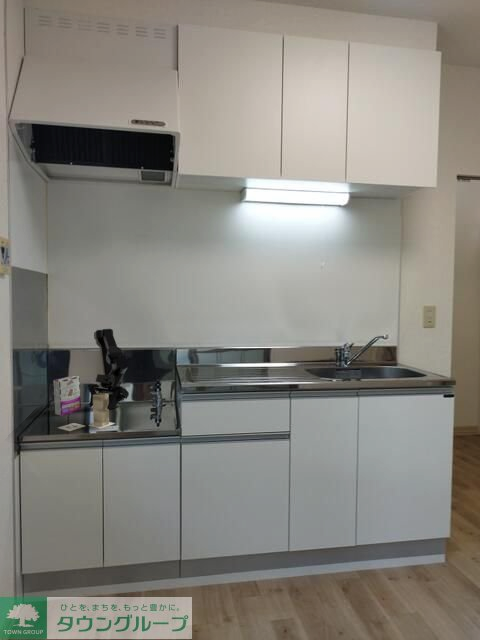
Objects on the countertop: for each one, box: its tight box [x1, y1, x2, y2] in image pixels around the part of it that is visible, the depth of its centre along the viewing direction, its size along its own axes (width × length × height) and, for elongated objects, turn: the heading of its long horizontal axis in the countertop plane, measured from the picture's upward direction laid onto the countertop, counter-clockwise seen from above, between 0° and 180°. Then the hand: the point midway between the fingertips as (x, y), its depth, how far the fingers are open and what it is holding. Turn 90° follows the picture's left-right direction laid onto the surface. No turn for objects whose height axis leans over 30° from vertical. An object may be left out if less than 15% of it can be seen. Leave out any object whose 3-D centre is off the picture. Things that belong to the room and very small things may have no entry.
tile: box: [57, 422, 85, 432], centre depth 190 cm, size 8×8×1 cm
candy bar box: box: [53, 375, 82, 417], centre depth 211 cm, size 11×5×16 cm, turn 148°
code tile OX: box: [88, 421, 116, 430], centre depth 194 cm, size 8×8×1 cm
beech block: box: [92, 393, 110, 426], centre depth 193 cm, size 4×4×13 cm
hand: (98, 407), depth 192 cm, fingers open, 9 cm apart
